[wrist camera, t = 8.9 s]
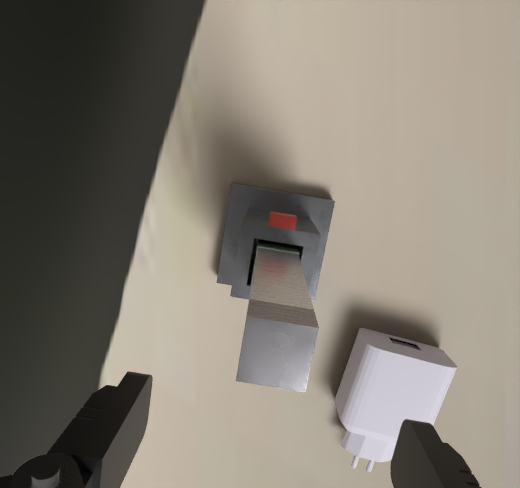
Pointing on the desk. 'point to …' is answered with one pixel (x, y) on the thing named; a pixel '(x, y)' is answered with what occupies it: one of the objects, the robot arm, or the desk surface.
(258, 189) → the stand
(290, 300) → the column
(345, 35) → the desk surface
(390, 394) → the charger
